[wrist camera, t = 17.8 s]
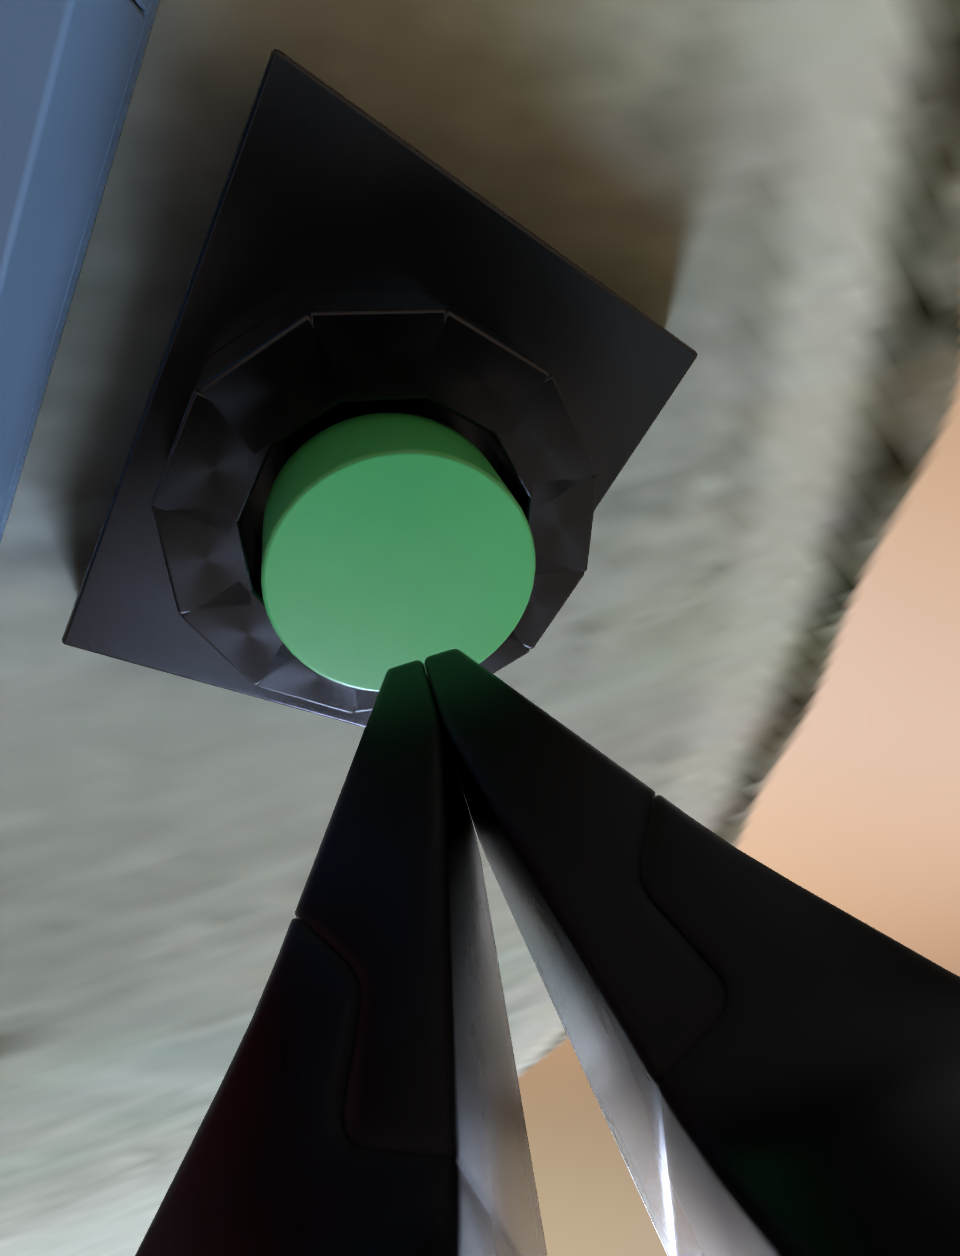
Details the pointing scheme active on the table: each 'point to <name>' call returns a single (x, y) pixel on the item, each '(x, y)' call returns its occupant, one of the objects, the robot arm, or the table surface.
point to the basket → (53, 181)
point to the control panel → (356, 386)
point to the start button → (392, 549)
